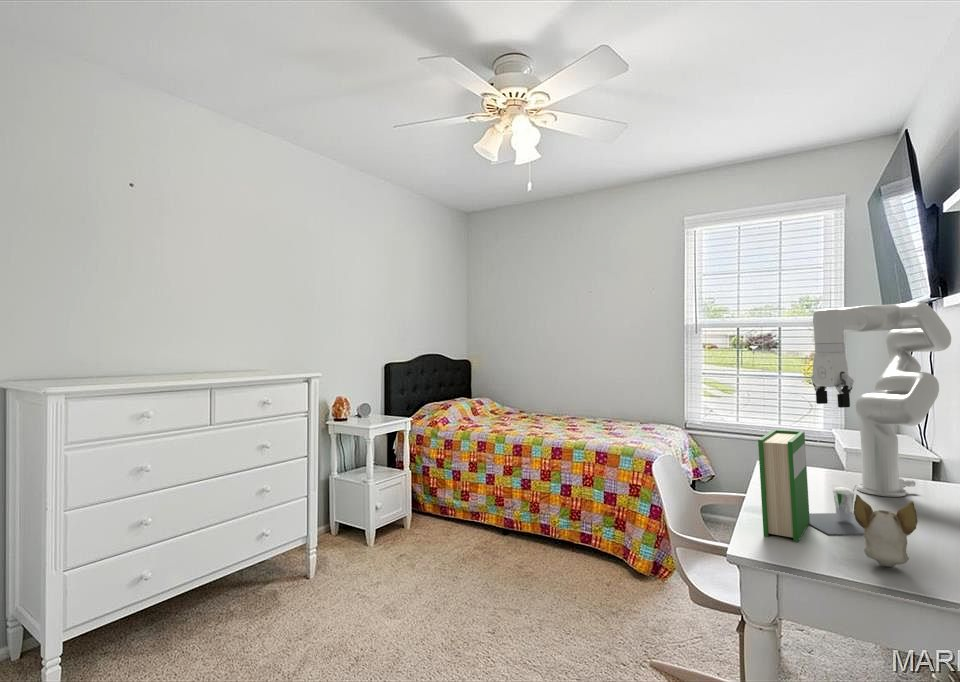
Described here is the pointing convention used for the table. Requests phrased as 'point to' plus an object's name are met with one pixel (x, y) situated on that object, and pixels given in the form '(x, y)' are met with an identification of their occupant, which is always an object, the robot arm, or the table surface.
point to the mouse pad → (834, 524)
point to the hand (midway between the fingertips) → (832, 405)
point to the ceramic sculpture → (886, 532)
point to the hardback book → (784, 483)
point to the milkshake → (844, 504)
